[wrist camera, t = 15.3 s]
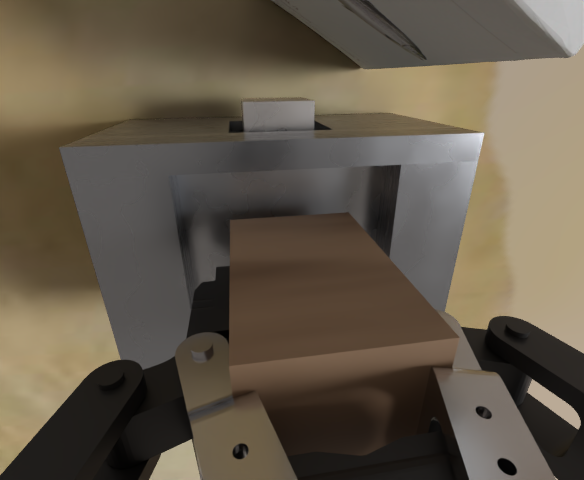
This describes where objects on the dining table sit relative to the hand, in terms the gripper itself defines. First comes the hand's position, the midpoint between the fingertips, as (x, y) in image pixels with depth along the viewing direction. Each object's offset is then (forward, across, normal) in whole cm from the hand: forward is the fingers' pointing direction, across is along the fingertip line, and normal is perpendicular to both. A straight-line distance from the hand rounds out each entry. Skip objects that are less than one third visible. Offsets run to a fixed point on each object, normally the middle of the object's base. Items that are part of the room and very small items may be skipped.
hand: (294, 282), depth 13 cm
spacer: (+1, 0, 0) cm, 1 cm away
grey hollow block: (+9, 0, 0) cm, 9 cm away
